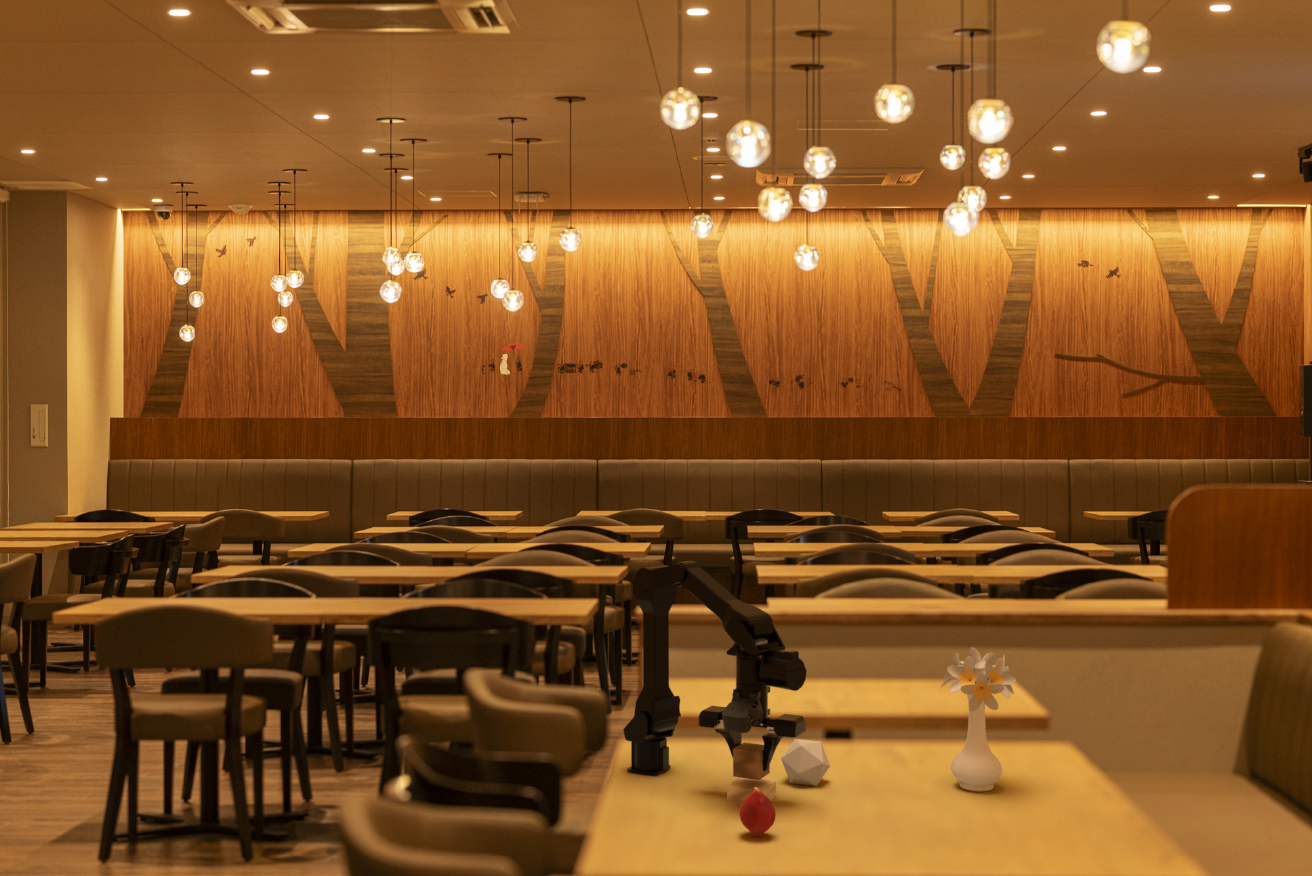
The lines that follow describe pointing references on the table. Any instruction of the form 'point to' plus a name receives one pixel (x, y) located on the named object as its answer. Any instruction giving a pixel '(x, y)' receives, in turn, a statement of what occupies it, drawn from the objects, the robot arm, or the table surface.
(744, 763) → the walnut cube
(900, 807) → the table surface
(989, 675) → the flower vase
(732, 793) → the maple base
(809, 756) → the die
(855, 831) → the table surface
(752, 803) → the onion
